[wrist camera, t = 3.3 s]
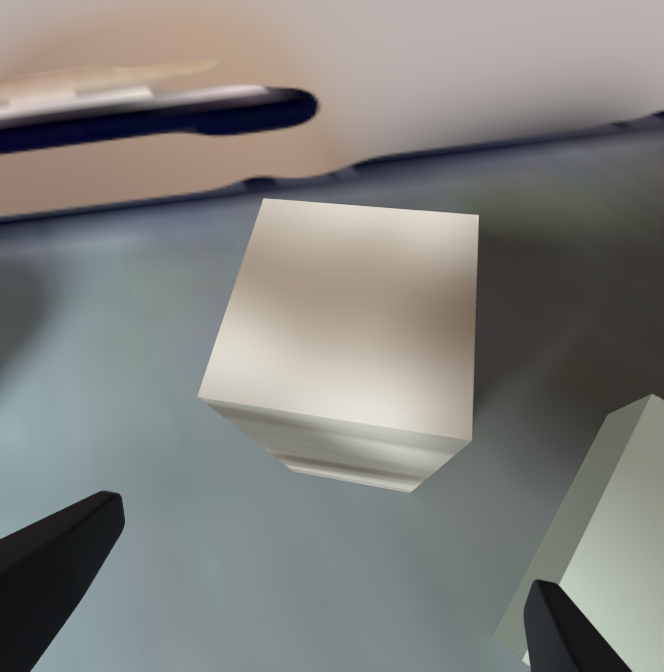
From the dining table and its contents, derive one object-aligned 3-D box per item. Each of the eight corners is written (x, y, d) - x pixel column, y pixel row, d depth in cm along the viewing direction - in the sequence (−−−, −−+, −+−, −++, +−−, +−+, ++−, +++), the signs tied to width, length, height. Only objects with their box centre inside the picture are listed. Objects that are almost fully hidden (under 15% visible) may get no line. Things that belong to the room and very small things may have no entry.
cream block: (410, 492, 20) (472, 440, 8) (293, 471, 21) (197, 396, 9) (420, 379, 22) (478, 215, 11) (315, 364, 23) (263, 198, 11)
